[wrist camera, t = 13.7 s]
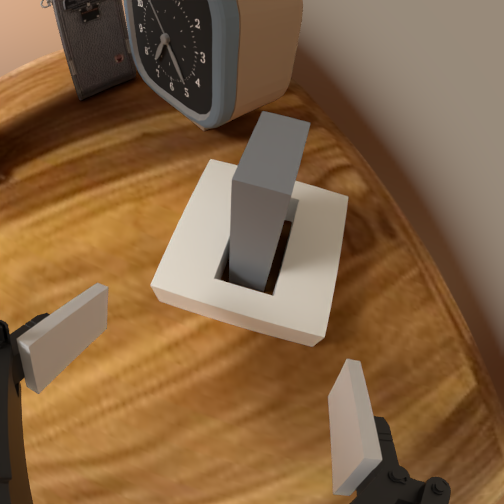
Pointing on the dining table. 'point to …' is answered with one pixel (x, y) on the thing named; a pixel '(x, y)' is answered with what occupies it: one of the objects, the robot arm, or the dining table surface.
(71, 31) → the camera
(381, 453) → the robot arm
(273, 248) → the grey rectangular peg
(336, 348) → the dining table surface
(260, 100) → the alarm clock
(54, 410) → the dining table surface
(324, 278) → the white flat frame block
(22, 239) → the dining table surface
